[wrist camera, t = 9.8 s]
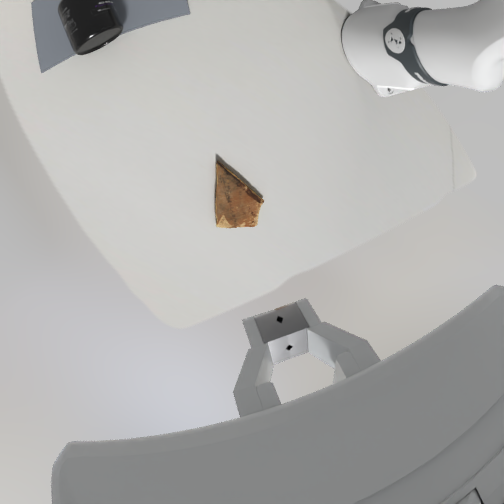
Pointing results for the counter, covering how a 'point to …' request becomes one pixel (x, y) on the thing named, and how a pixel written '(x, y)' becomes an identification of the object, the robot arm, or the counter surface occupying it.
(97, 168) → the counter surface
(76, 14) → the supplement bottle
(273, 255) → the counter surface
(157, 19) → the mat
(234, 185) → the shard
